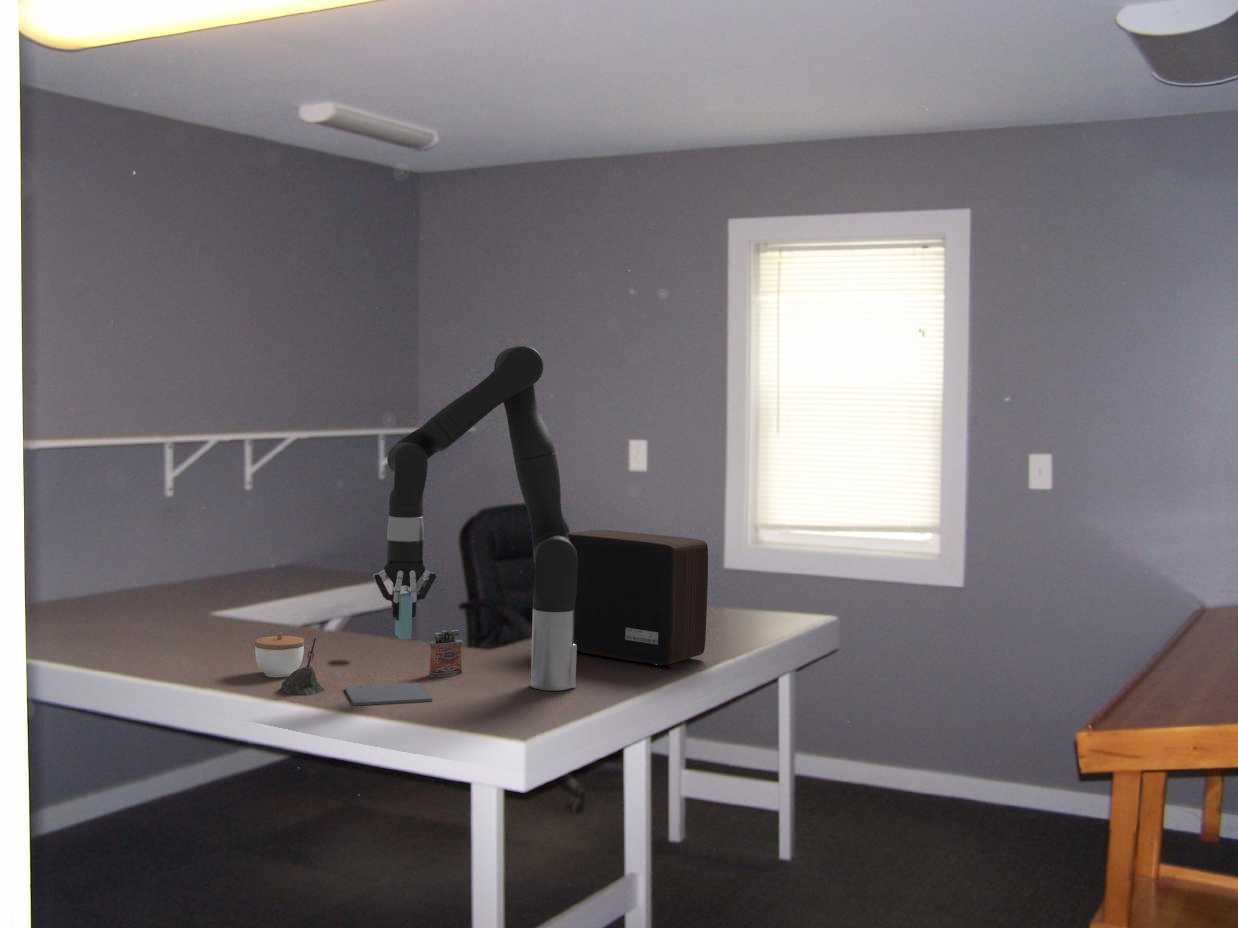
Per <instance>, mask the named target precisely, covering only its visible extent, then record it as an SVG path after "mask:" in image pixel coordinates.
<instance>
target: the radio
mask: <svg viewBox="0 0 1238 928" xmlns="http://www.w3.org/2000/svg"><path fill="white" fill-rule="evenodd" d="M567 534H568V537H569V540H570V542H571V544H572V545H573V546H574V548H575V549H576V552H577V557H578V571H577V593H576V599H575V619H574V644H576V645H577V652H579V653H585V654H591V655H596V656H602V657H609V658H613V659H618V660H626V661H632V662H637V663H638V662H639V663H644V664H652V665H655V664H657V665H658V666H668V665H673V664H675V663H679V662H681V661H685V660H688V659H691V658H694V657H697V656H701V655H703V654H704V652H705V649H706V638H707V637H706V634H707V614H708V613H707V612H708V580H709V549H708V543H707V542H706V541H704V540H703V539H697V538H689V537H683V536H682V537H681V536H674V535H664V534H652V533H643V532H642V533H641V532H631V531H630V532H629V531H619V530H610V529H609V530H608V529H591V530H583V531H582V530H581V531H572V532H567Z"/></svg>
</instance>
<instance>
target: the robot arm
mask: <svg viewBox="0 0 1238 928" xmlns="http://www.w3.org/2000/svg"><path fill="white" fill-rule="evenodd" d="M493 365H494V366H493V370H492V371H491V373H490V374H489V375H487V377H485V378H484V379H483V380H482V381H481V382H479V383H478V384H477V385H475V386H474V387H473V388H471V389H470V390H468V391H466V392H465V393H463V394H462V395H460V396H459V397H458V398H456V399H454V400H453V401H452V402H449V404H447V405H446V406H445V407H443V408H442V409H441V410H440V411H438V412H437V413H436V414H435V415H433V416H432V417H431V418H430V419H428V420H427V421H426V422H425V423H424V424H423V425H421V426H420V427H419V428H417V429H415V430H414V431H412V432H410V433H409V434H407V435H406V436H404V437H403V438H402V439H400V440H399V441H397V442H396V443H395V444H393V446H392V447H391V448H390V449H389V450H388V451H389V452H388V454H387V457H386V459H387V465H388V467H389V469H390V471H392V472H393V473H394V478H393V489H392V490H391V491H390V494H389V498H388V499H389V500H388V501H389V502H388V521H387V522H388V523H387V531H386V537H387V538H386V540H387V541H386V563H385V566H384V567H383V569H382V570H381V571H379V572H374V573H373V574H372V578H373V580H374V582H375V584H376V585H377V588H378V589H379V591H380V594H381V595H382V597H383V598H384V599H385V600H386V601H389V602H390V603H391V616H392V618H393V619H394V621H395V620H396V621H397V620H399V595H400V592H402V587H404V586H407V592H408V593H409V594H410V595H412V620H413V619H414V618H415V617H416V615H417V614H416V611H417V602H418V601H420V600H425V598H426V596H427V594H428V592H429V591H430V589H431V587H432V586H433V584H434V582H435V580H436V579H437V575H436V573H434V572H433V571H429V570H427V569H426V567H425V563H424V542H425V540H424V536H425V535H424V534H425V530H424V528H425V525H424V491H425V488H426V481H427V476H428V465H429V464H428V460H429V459H430V458H431V457H433V456H434V455H435V454H436V453H438V452H442V451H444V450H446V449H448V448H449V447H451V446H452V445H453V444H454V443H455V442H457V441H458V440H459V439H460V438H462V437H463V436H464V435H466V433H467V432H468V431H469V430H471V429H472V428H473V427H474V426H475V425H477V424H478V423H479V422H480V421H481V420H482V419H483V418H485V417H486V416H487V415H488V414H490V412H492V411H493V410H494V409H496V408H497V407H498V406H500V405H501V404H503V407H504V409H505V414H506V419H507V426H508V434H509V439H510V444H511V450H512V456H513V461H514V466H515V472H516V476H517V481H518V484H519V488H520V493H521V494H522V498H523V501H524V504H525V507H526V511H527V514H528V519H529V522H530V523H529V525H530V530H531V531H530V532H531V541H532V558H533V563H534V589H533V590H534V591H533V597H532V626H531V627H532V628H531V632H532V633H531V659H530V660H531V661H530V662H531V663H530V665H531V667H530V669H531V670H530V671H531V672H530V687H531V688H533V689H536V690H540V691H557V692H558V691H566V690H570V689H575V688H576V687H577V685H576V684H577V682H576V681H577V655H578V654H577V653H578V651H577V645H576V644H574V619H575V599H576V593H577V571H578V557H577V552H576V549H575V548H574V546H573V545H572V544H571V542H570V540H569V537H568V534H567V533H568V531H567V527H566V524H565V521H564V516H563V512H562V511H563V510H562V504H561V503H562V502H561V501H562V499H561V497H562V496H561V495H562V494H561V479H560V477H561V476H560V469H559V464H558V459H557V455H556V449H555V445H554V442H553V439H552V437H551V435H550V432H549V430H548V428H547V425H546V424H545V422H544V419H543V418H542V416H541V413H540V411H539V407H538V404H537V397H536V390H535V384H536V383H538V381H539V380H540V378H541V377H542V374H543V372H544V360H543V357H542V356H541V353H539V352H538V350H536V349H535V348H533V347H531V346H528V345H527V346H526V345H516V346H511V347H509V348H506V349H504V350H502V351H501V352H500V353H499V354H498V355H497V357H496V358H495V361H494V364H493ZM386 576H387V578H388V579H389V580H390V581H391V583H392V592H391V593H390V592H389V591H388V589H387V587H386V585H385V583H384V582H385V581H386ZM422 576H423V583H422V585H421V586H420V589H419V591H418V592H417V583H418V581H419V580H420V579H421V578H422Z"/></svg>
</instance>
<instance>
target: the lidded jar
mask: <svg viewBox="0 0 1238 928" xmlns="http://www.w3.org/2000/svg"><path fill="white" fill-rule="evenodd" d="M304 647H305V639H304V638H303V637H300V636H294V635H283V632H277V635H272V636H270V635H269V636H264V637H260V638H257V639H255V640H254V648H255V649H254V654H255V655H254V656H255V661H256V664H257V666H258V668H259V669H260V671H261V672H262V673H264V675H265V677H268V678H288V677H289V676H290V675H291V674H292V673H293V672H294V671H296V670H298V669H300V666H301V664H302V662H303V658H304V654H305V653H304V651H305V648H304Z"/></svg>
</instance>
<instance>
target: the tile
mask: <svg viewBox="0 0 1238 928" xmlns="http://www.w3.org/2000/svg"><path fill="white" fill-rule="evenodd" d="M412 623H413V619H412V595H410V594H409V592H408V591H401V592H400V595H399V620H397V621H396V620H395V619H394V634H395V636H396V637H397V638H398V639H399V640H412V631H413V630H412V628H413V625H412Z"/></svg>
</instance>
